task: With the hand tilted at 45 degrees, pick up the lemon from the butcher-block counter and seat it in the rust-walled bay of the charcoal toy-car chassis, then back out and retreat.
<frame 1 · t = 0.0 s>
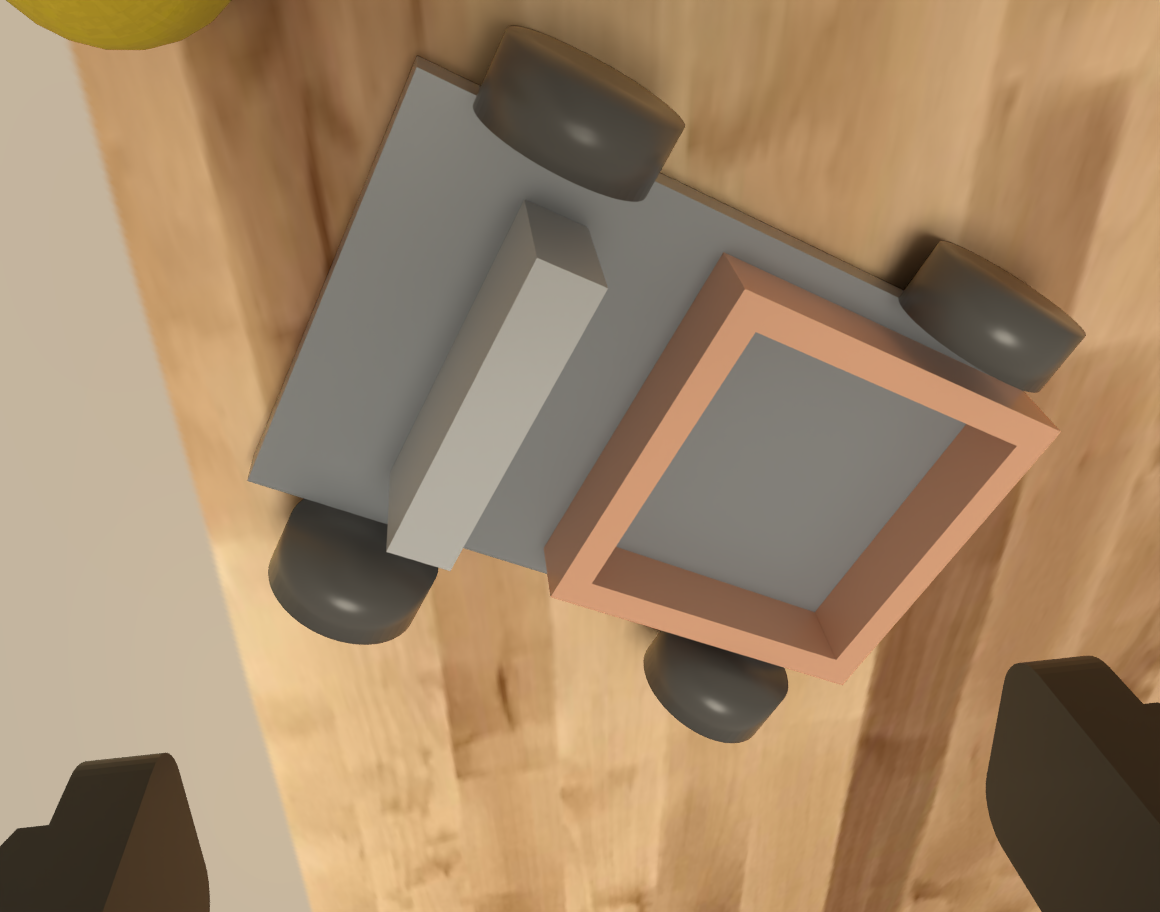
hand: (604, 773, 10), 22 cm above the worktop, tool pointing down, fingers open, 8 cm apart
chassis: (646, 403, 34), on the worktop
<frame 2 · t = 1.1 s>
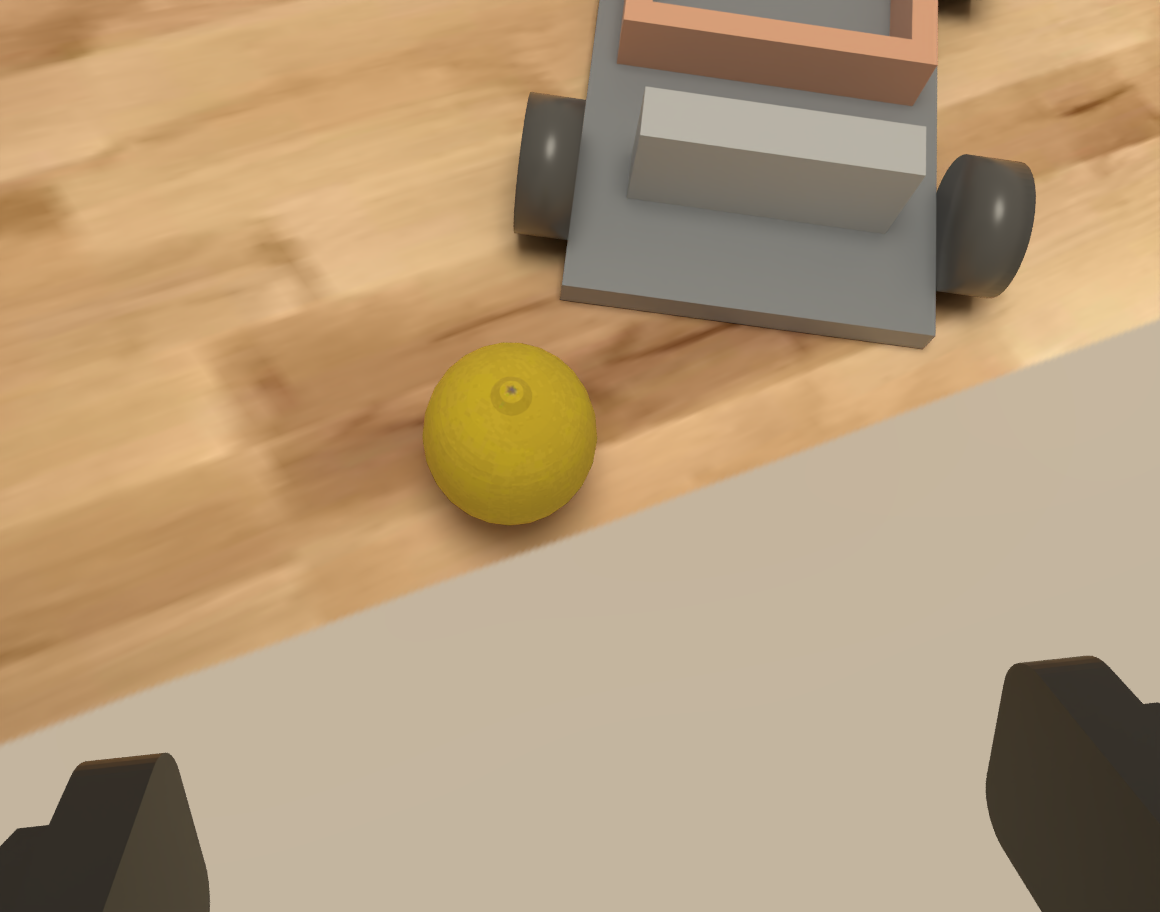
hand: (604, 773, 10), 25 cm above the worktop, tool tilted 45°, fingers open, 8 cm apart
chassis: (759, 83, 43), on the worktop
lemon: (509, 473, 37), on the worktop
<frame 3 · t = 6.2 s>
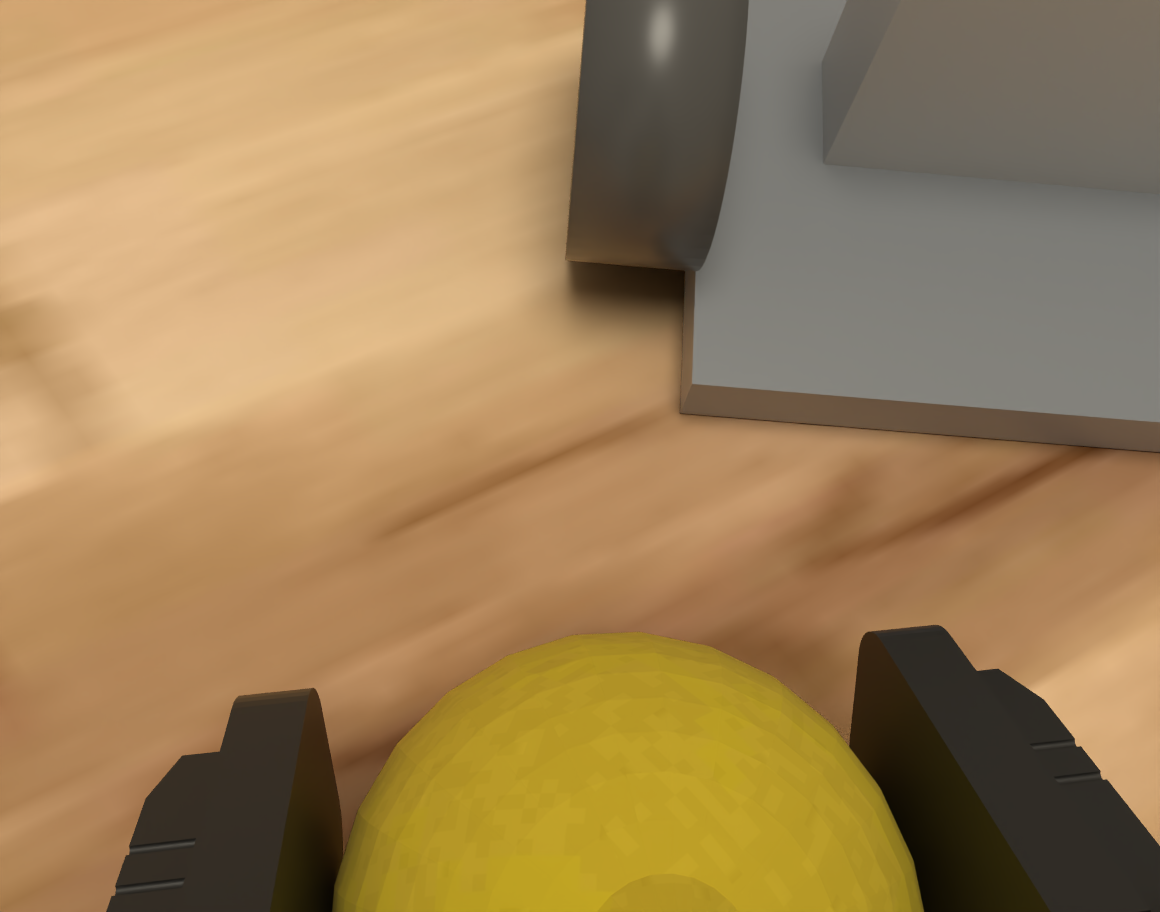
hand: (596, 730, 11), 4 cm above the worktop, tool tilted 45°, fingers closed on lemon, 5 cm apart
lemon: (588, 885, 14), on the worktop, touching gripper
when the fingers open (7 cm above the worktop, at t = 12.6 s): lemon drops 2 cm, resting on chassis.
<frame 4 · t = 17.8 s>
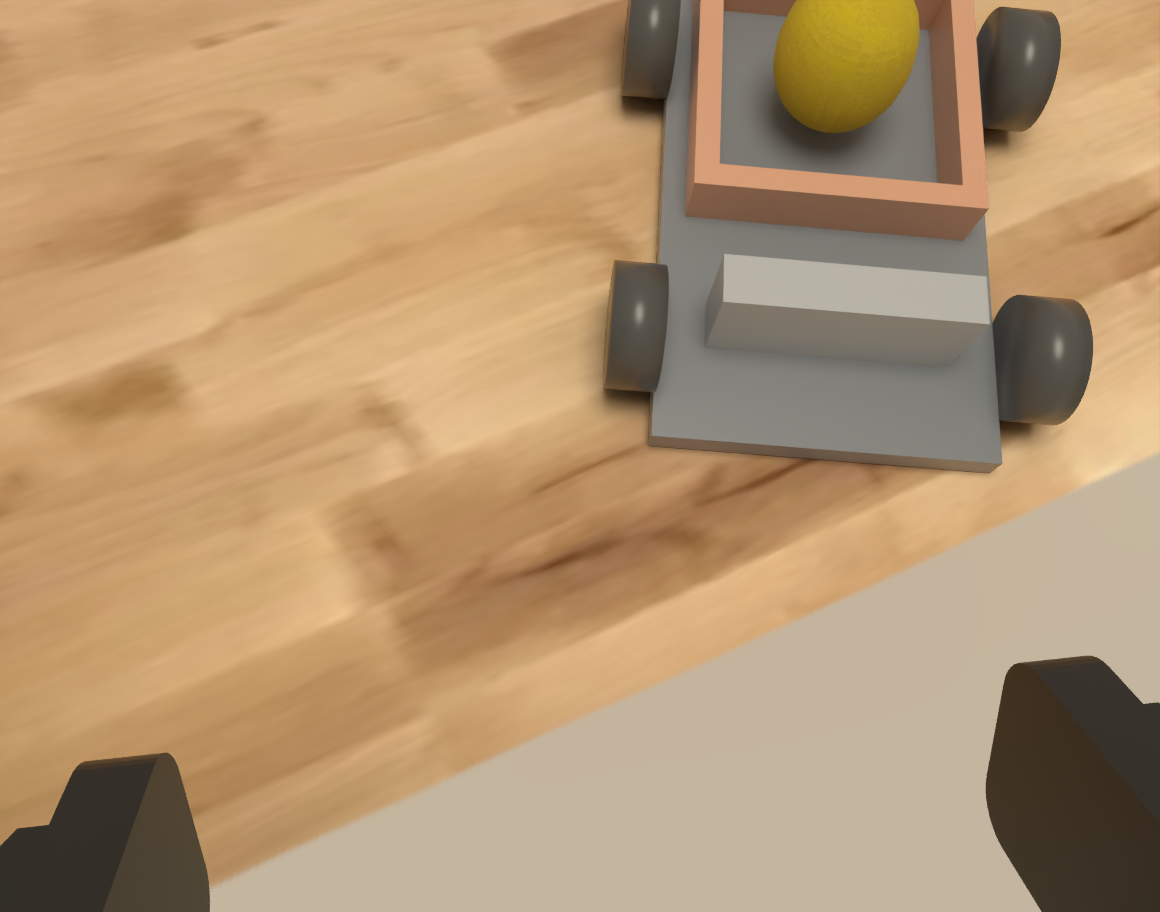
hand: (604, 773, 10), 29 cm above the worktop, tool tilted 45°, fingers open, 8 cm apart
chassis: (816, 223, 45), on the worktop
lemon: (816, 118, 46), point 1 cm above the worktop, touching chassis
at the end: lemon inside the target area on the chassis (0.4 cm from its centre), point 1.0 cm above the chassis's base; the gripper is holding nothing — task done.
